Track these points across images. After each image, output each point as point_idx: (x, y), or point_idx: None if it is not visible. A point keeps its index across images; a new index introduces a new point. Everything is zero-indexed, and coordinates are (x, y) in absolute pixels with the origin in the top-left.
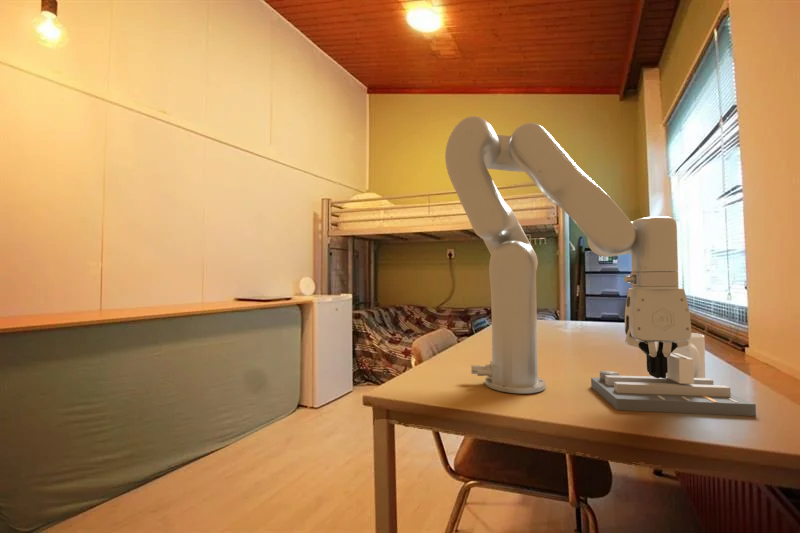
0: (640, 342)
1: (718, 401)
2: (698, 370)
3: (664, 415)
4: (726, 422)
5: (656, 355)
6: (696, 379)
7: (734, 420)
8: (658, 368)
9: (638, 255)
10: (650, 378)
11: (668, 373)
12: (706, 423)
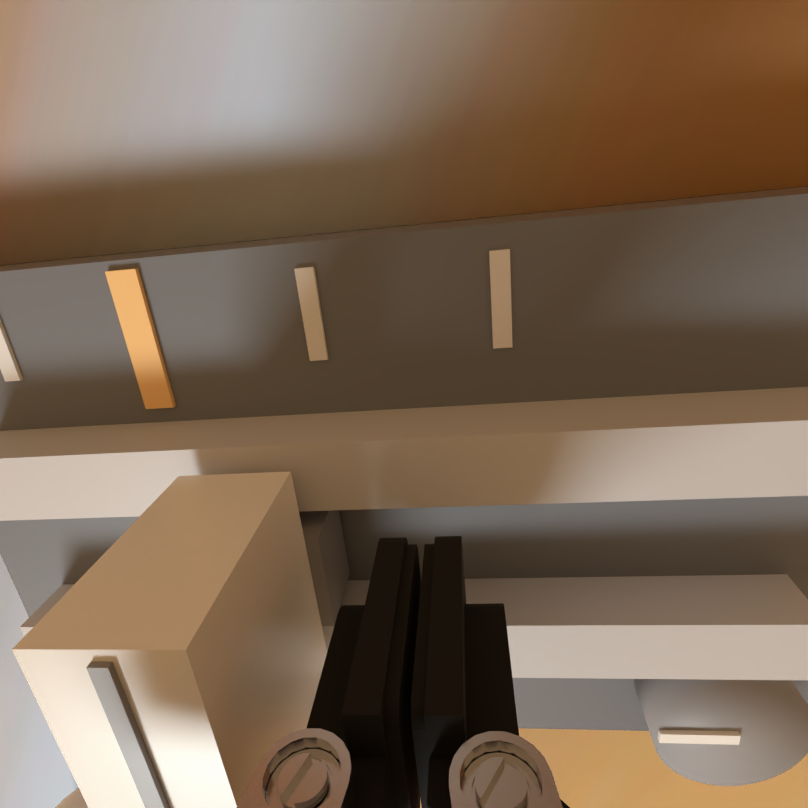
0: None
1: (98, 299)
2: (62, 806)
3: (535, 135)
4: (153, 79)
5: (437, 774)
6: None
7: (92, 144)
8: (442, 598)
9: None
10: None
11: (311, 652)
12: (295, 9)
